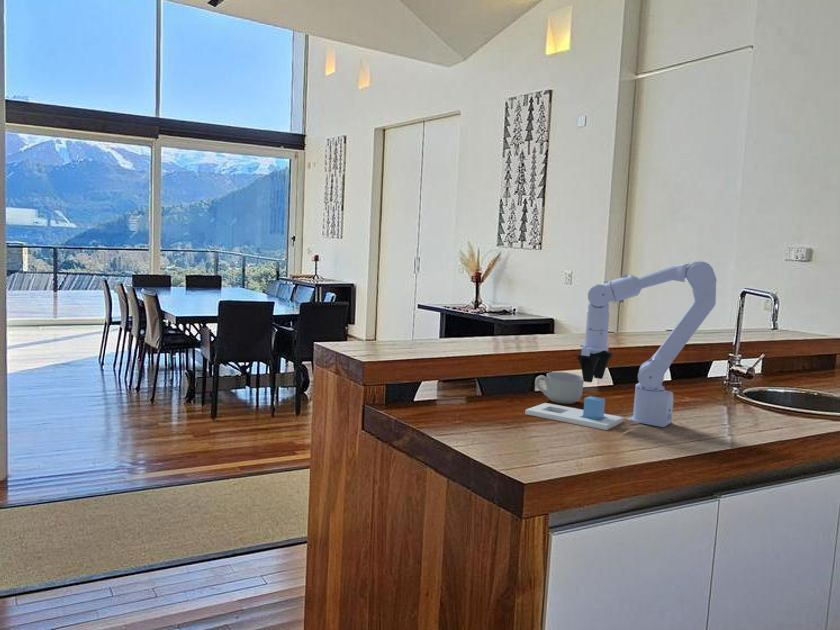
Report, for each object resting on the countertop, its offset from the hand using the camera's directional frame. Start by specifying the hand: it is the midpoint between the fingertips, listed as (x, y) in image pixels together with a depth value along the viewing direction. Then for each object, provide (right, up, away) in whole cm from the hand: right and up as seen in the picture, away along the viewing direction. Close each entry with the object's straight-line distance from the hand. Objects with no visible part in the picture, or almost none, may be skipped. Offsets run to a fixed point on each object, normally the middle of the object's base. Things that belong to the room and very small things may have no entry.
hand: (593, 380), depth 191 cm
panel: (-7, -10, -6) cm, 13 cm away
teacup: (-7, -8, +15) cm, 18 cm away
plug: (-2, -10, -9) cm, 13 cm away
